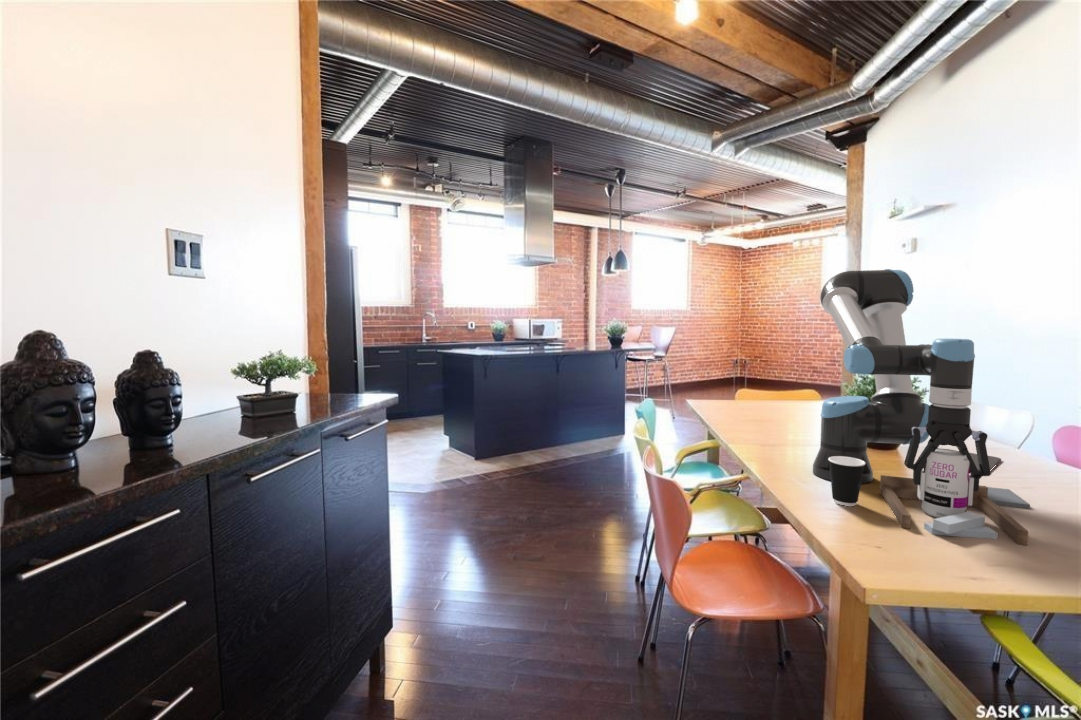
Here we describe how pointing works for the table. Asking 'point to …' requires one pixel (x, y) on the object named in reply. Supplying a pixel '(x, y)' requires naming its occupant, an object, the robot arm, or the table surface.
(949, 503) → the supplement can
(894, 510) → the rack
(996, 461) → the smartphone
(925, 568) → the table surface
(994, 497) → the pad
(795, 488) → the table surface
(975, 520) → the offcut upper
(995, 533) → the offcut lower
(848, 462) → the dixie cup
